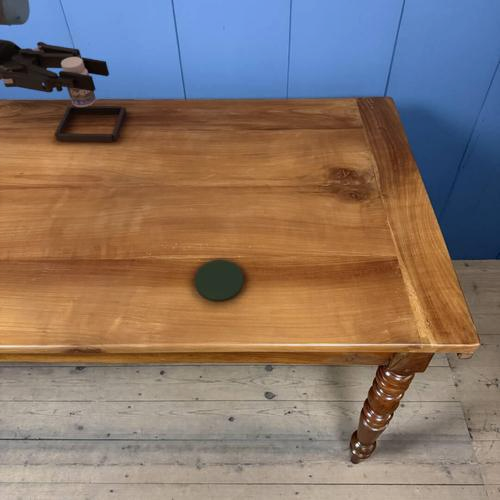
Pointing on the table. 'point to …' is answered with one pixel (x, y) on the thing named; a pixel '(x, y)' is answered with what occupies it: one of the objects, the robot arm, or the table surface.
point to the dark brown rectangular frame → (90, 137)
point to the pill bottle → (77, 95)
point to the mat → (219, 280)
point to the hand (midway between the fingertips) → (99, 76)
